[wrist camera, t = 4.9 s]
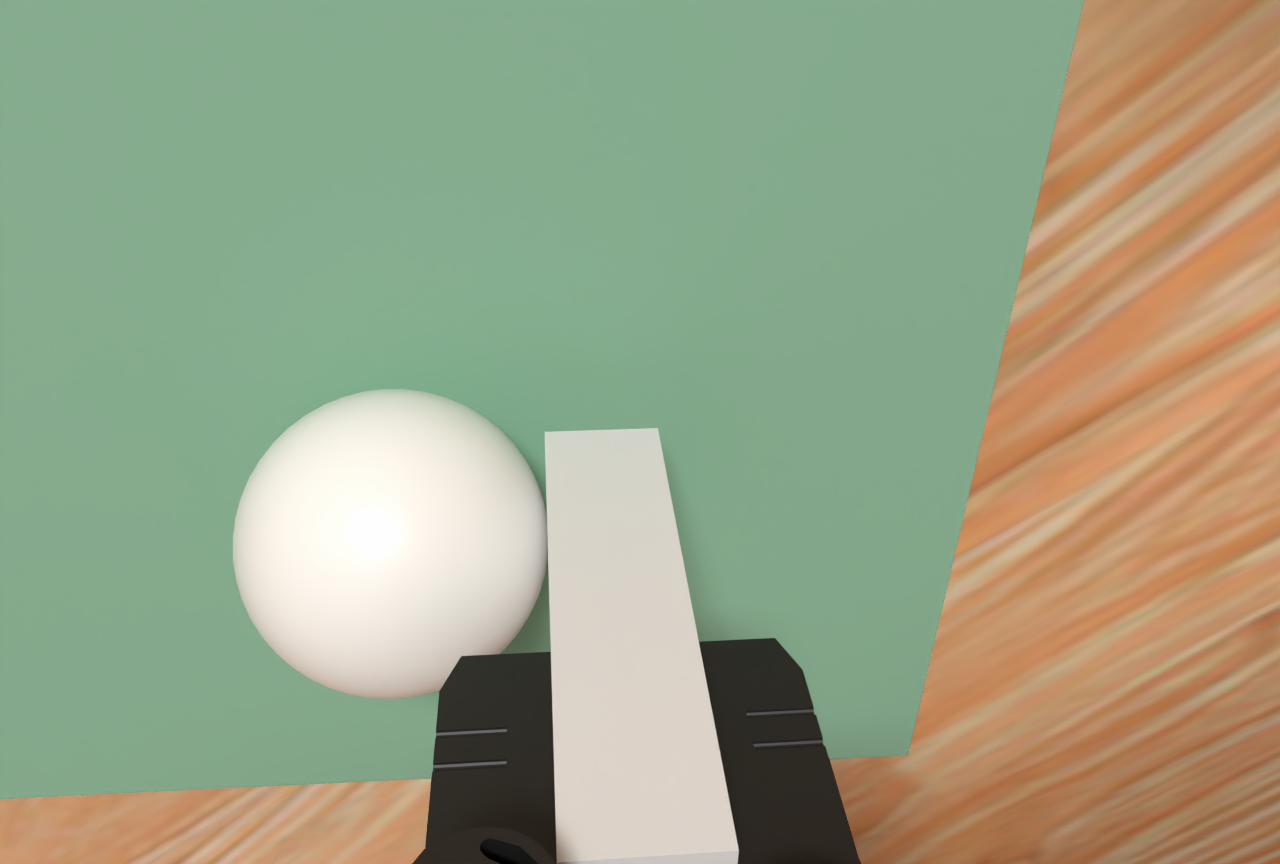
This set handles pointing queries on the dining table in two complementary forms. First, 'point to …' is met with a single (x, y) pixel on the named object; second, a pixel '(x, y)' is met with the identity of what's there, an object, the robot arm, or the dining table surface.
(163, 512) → the green golf putting board
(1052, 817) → the dining table surface
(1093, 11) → the dining table surface
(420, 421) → the ball
